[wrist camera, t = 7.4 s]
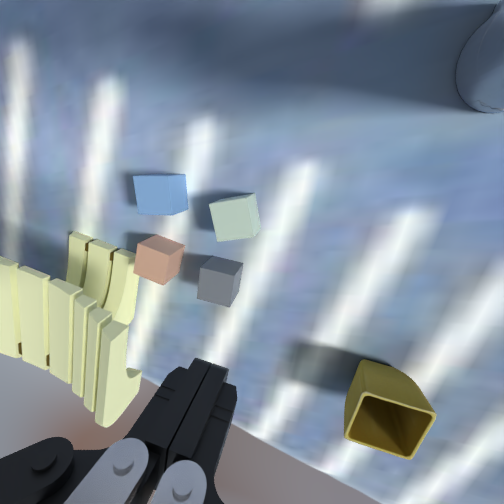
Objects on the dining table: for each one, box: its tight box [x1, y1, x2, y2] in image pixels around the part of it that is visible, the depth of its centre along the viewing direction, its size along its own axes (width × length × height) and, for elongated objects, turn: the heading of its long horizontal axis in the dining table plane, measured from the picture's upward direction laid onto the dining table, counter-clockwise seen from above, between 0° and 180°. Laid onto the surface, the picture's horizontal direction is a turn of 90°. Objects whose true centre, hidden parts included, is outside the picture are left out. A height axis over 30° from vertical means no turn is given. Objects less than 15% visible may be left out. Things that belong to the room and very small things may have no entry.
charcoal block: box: [197, 256, 243, 307], centre depth 39 cm, size 5×5×5 cm
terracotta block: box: [133, 235, 185, 285], centre depth 40 cm, size 5×5×5 cm
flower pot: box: [344, 359, 436, 460], centre depth 37 cm, size 9×9×9 cm
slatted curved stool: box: [0, 231, 142, 427], centre depth 39 cm, size 30×16×18 cm, turn 74°
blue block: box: [133, 174, 188, 215], centre depth 37 cm, size 5×5×5 cm
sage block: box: [209, 193, 261, 242], centre depth 35 cm, size 5×5×5 cm
